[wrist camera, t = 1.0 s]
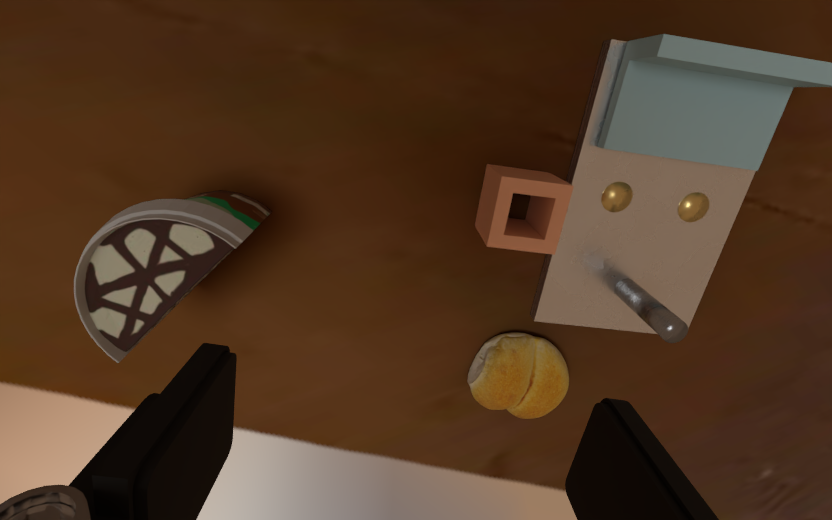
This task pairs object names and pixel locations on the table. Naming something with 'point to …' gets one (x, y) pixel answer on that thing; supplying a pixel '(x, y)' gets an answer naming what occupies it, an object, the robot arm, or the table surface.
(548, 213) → the block
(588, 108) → the base
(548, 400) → the bread roll
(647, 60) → the cover
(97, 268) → the food container
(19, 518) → the robot arm
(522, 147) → the table surface
